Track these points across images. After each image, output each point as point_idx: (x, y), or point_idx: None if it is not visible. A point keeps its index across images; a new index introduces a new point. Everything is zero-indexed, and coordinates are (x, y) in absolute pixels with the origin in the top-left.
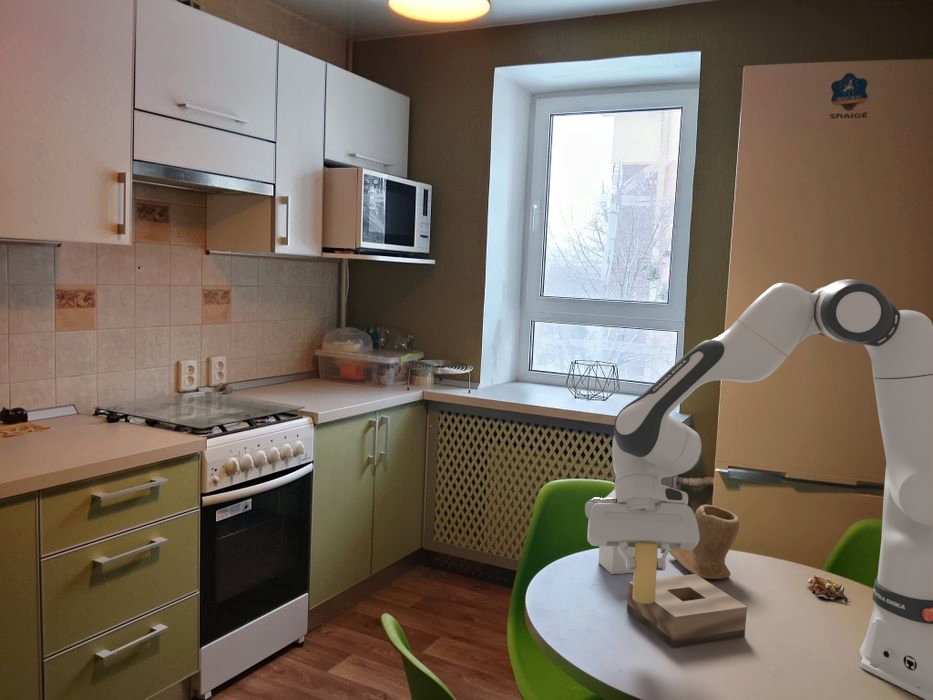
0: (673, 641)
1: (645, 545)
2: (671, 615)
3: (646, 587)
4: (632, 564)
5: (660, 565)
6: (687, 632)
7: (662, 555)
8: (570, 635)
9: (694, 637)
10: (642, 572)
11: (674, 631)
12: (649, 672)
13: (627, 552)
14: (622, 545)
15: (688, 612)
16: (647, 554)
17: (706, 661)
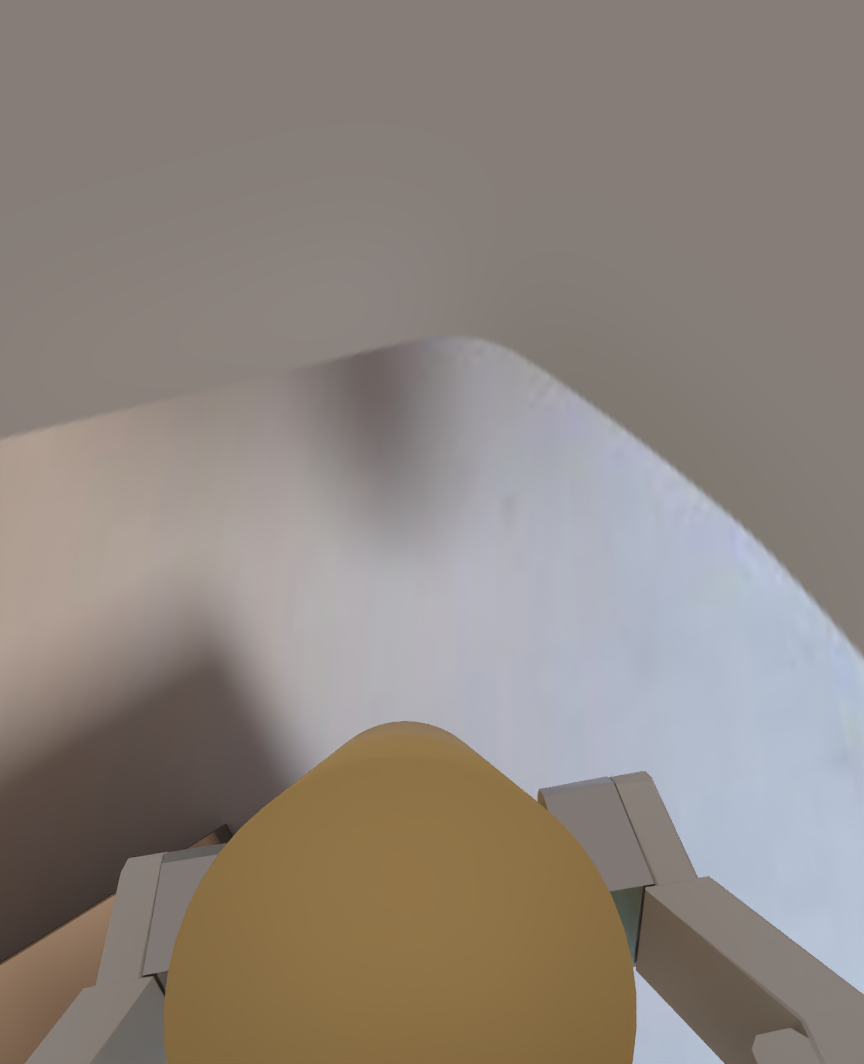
0: (215, 831)
1: (423, 1011)
2: None
3: (388, 727)
4: (584, 790)
5: (197, 854)
6: (112, 894)
7: (122, 1019)
8: (799, 818)
9: (77, 915)
10: (442, 738)
11: (196, 844)
12: (370, 522)
13: (712, 940)
14: (857, 1058)
15: (53, 976)
16: (388, 749)
17: (61, 716)
